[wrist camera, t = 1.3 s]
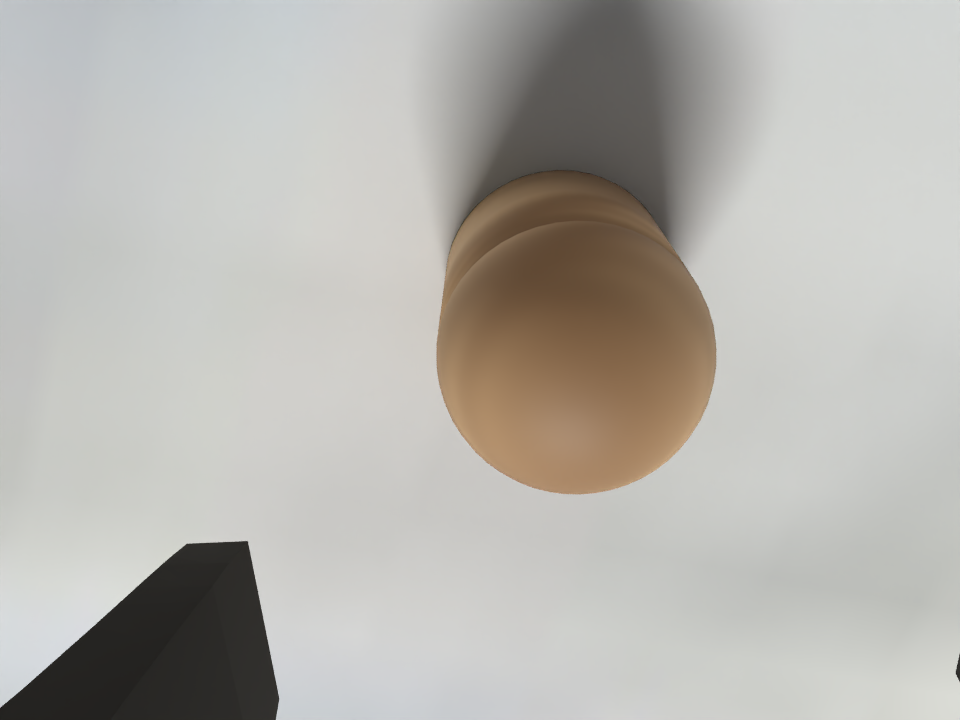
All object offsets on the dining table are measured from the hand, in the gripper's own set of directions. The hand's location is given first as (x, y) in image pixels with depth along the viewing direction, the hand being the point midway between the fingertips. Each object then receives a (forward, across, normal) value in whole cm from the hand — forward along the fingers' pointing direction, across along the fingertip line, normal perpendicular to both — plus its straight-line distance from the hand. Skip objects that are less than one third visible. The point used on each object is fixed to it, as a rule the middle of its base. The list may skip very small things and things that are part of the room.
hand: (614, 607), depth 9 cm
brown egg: (+10, 0, 0) cm, 10 cm away
